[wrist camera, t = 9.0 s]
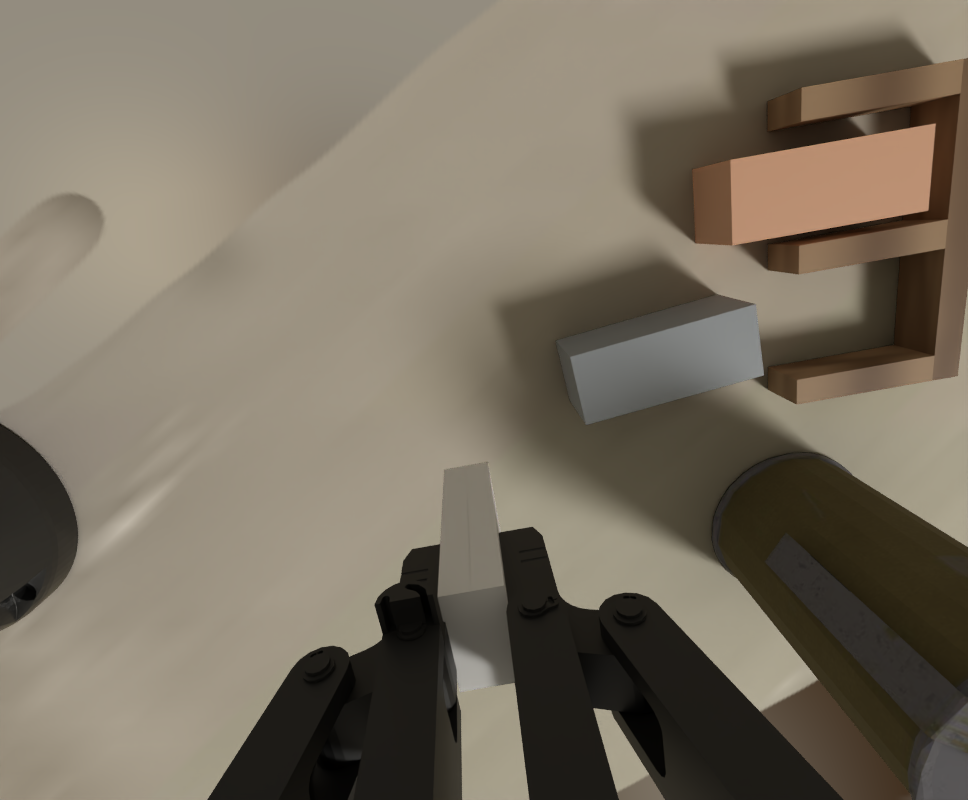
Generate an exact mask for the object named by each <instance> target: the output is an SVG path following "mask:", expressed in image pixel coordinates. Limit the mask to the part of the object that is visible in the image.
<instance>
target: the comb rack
mask: <svg viewBox="0 0 968 800" xmlns="http://www.w3.org/2000/svg"><path fill="white" fill-rule="evenodd" d="M910 106H911V117H910V128H913V127H918V126H924V125H930V124H935V123H936V126H935V138H934V150H933V161H932V173H931V185H930V197H929V208H928V211H923V212H918V213H912V214H907V215H903V220H901V221H896V222H890V223H884V224H879V225H873V226H867V227H862V228H856V229H850V230H845V231H839V232H833V233H828V234H822V235H817V236H811V237H805V238H800V239H794V240H788V241H783V242H777V243H771V244H768V270H770V271H778V272H785V273H793V274H803V273H809V272H815V271H820V270H826V269H832V268H837V267H843V266H849V265H854V264H860V263H866V262H871V261H877V260H883V259H888V258H894V257H900V266H899V280H898V293H897V307H896V321H895V334H894V345H890V346H884V347H879V348H873V349H867V350H862V351H856V352H850V353H845V354H839V355H833V356H828V357H822V358H816V359H811V360H805V361H799V362H794V363H788V364H782V365H777V366H771V367H768V390H770V391H772V392H773V393H775V394H777V395H779V396H781V397H783V398H785V399H787V400H789V401H791V402H793V403H795V404H802V403H808V402H813V401H819V400H825V399H830V398H836V397H842V396H847V395H853V394H859V393H864V392H870V391H875V390H881V389H887V388H892V387H898V386H904V385H909V384H915V383H921V382H926V381H932V380H938V379H943V378H949V377H955V376H958V368H959V359H960V350H961V341H962V333H963V324H964V315H965V306H966V297H967V289H968V58H966V59H960V60H955V61H949V62H943V63H938V64H932V65H927V66H921V67H915V68H910V69H904V70H898V71H893V72H887V73H881V74H876V75H870V76H864V77H859V78H853V79H847V80H842V81H836V82H831V83H825V84H819V85H814V86H808V87H802V88H800V89H797V90H795V91H792V92H790V93H787V94H785V95H782V96H780V97H777V98H775V99H772V100H770V101H767V132H769V131H775V130H780V129H786V128H792V127H797V126H803V125H809V124H814V123H820V122H826V121H831V120H837V119H843V118H848V117H854V116H860V115H865V114H871V113H876V112H882V111H888V110H893V109H899V108H905V107H910Z"/></svg>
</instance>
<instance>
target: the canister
mask: <svg viewBox="0 0 968 800" xmlns="http://www.w3.org/2000/svg"><path fill="white" fill-rule="evenodd" d="M712 542H713V546H714V550H715V553H716V555H717V557H718V559H719V561H720V562H721V564H722V565H723V566H724V568H725V569H726V570H727V571H728V572H729V573H730V574H731V575H733V576H734V577H736V578H737V579H738V580H739V581H740V583H741V584H742V585H743V586H744V588H745V589H746V590H747V591H748V593H749V594H750V595H751V596H752V597H753V599H754V600H755V601H756V602H757V604H758V605H759V606H760V607H761V609H762V610H763V611H764V612H765V614H766V615H767V616H768V617H769V619H770V620H771V621H772V622H773V624H774V625H775V626H776V627H777V629H778V630H779V631H780V632H781V634H782V635H783V636H784V637H785V639H786V640H787V641H788V642H789V644H790V645H791V646H792V647H793V649H794V650H795V651H796V652H797V654H798V655H799V656H800V657H801V658H802V660H803V661H804V662H805V663H806V665H807V666H808V667H809V668H810V670H811V671H812V672H813V673H814V675H815V676H816V677H817V678H818V680H819V681H820V682H821V683H822V685H823V686H824V687H825V688H826V690H827V691H828V692H829V693H830V695H831V696H832V697H833V698H834V699H835V701H836V702H837V703H838V704H839V706H840V707H841V708H842V710H843V711H844V712H845V713H846V714H847V716H848V717H849V718H850V719H851V721H852V722H853V723H854V724H855V726H856V727H857V728H858V729H859V731H860V732H861V733H862V734H863V736H864V737H865V738H866V739H867V741H868V742H869V743H870V744H871V746H872V747H873V748H874V749H875V751H876V752H877V753H878V754H879V756H880V757H881V758H882V759H883V760H884V762H885V763H886V764H887V766H888V767H889V768H890V769H891V771H892V772H893V773H894V774H895V775H896V777H897V778H898V779H899V780H900V782H901V783H902V784H903V785H904V787H905V788H906V789H907V790H908V792H909V793H910V794H911V797H912V800H968V547H966V546H965V545H963V544H962V543H960V542H958V541H957V540H955V539H954V538H952V537H950V536H949V535H947V534H946V533H944V532H942V531H941V530H939V529H938V528H936V527H934V526H933V525H931V524H929V523H928V522H926V521H925V520H923V519H921V518H920V517H918V516H917V515H915V514H913V513H912V512H910V511H909V510H907V509H905V508H904V507H902V506H901V505H899V504H897V503H896V502H894V501H892V500H891V499H889V498H888V497H886V496H884V495H883V494H881V493H880V492H878V491H876V490H875V489H873V488H872V487H870V486H868V485H867V484H865V483H864V482H862V481H860V480H859V479H857V478H855V477H854V476H853V475H852V474H851V473H850V472H849V471H848V470H846V469H845V468H844V467H843V466H842V465H841V464H839V463H837V462H836V461H834V460H832V459H830V458H828V457H826V456H821V455H817V454H813V453H791V454H786V455H782V456H778V457H774V458H770V459H768V460H766V461H764V462H761V463H759V464H757V465H755V466H754V467H752V468H751V469H749V470H748V471H746V472H745V473H743V474H742V475H741V476H740V477H739V478H738V479H737V480H736V481H735V482H734V483H733V484H732V485H731V486H730V487H729V489H728V490H727V491H726V493H725V494H724V496H723V497H722V499H721V501H720V503H719V506H718V508H717V510H716V513H715V516H714V520H713V531H712Z"/></svg>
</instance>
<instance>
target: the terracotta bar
mask: <svg viewBox="0 0 968 800" xmlns="http://www.w3.org/2000/svg"><path fill="white" fill-rule="evenodd" d="M935 126H936V123H935V124H930V125H924V126H918V127H913V128H907V129H902V130H896V131H890V132H885V133H879V134H873V135H868V136H862V137H856V138H851V139H845V140H839V141H834V142H828V143H823V144H817V145H811V146H806V147H800V148H794V149H789V150H783V151H777V152H772V153H766V154H760V155H755V156H749V157H744V158H738V159H732V160H728V161H724V162H720V163H716V164H712V165H708V166H704V167H700V168H696V169H692V173H693V197H694V220H695V243H699V244H717V245H737V244H743V243H749V242H754V241H760V240H765V239H771V238H777V237H782V236H788V235H794V234H799V233H805V232H811V231H816V230H822V229H828V228H833V227H839V226H844V225H850V224H856V223H861V222H867V221H873V220H878V219H884V218H890V217H895V216H901V215H907V214H912V213H918V212H923V211H928V208H929V197H930V185H931V173H932V161H933V150H934V138H935Z"/></svg>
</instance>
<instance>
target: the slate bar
mask: <svg viewBox="0 0 968 800" xmlns="http://www.w3.org/2000/svg"><path fill="white" fill-rule="evenodd" d="M556 345H557V349H558V353H559V357H560V362H561V366H562V370H563V374H564V378H565V382H566V387H567V391H568V395H569V399H570V402H571V403H572V405H573V406H574V408H575V409H576V411H577V412H578V414H579V415H580V417H581V418H582V420H583V421H584V423H585V424H586V425H588V424H592V423H595V422H599V421H603V420H606V419H610V418H613V417H617V416H620V415H624V414H628V413H631V412H635V411H638V410H642V409H645V408H649V407H653V406H656V405H660V404H663V403H667V402H671V401H674V400H678V399H681V398H685V397H688V396H692V395H696V394H699V393H703V392H706V391H710V390H713V389H717V388H721V387H724V386H728V385H731V384H735V383H738V382H742V381H746V380H749V379H753V378H756V377H760V376H763V375H764V371H763V362H762V354H761V345H760V336H759V328H758V319H757V311H756V304H753V303H749V302H745V301H741V300H737V299H733V298H729V297H725V296H721V295H718V294H717V295H713V296H710V297H706V298H703V299H699V300H696V301H692V302H689V303H685V304H682V305H678V306H675V307H671V308H668V309H664V310H661V311H657V312H654V313H650V314H647V315H643V316H640V317H636V318H633V319H629V320H626V321H622V322H619V323H615V324H612V325H608V326H605V327H601V328H598V329H594V330H591V331H587V332H584V333H580V334H577V335H573V336H570V337H566V338H563V339H559V340H556Z"/></svg>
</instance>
